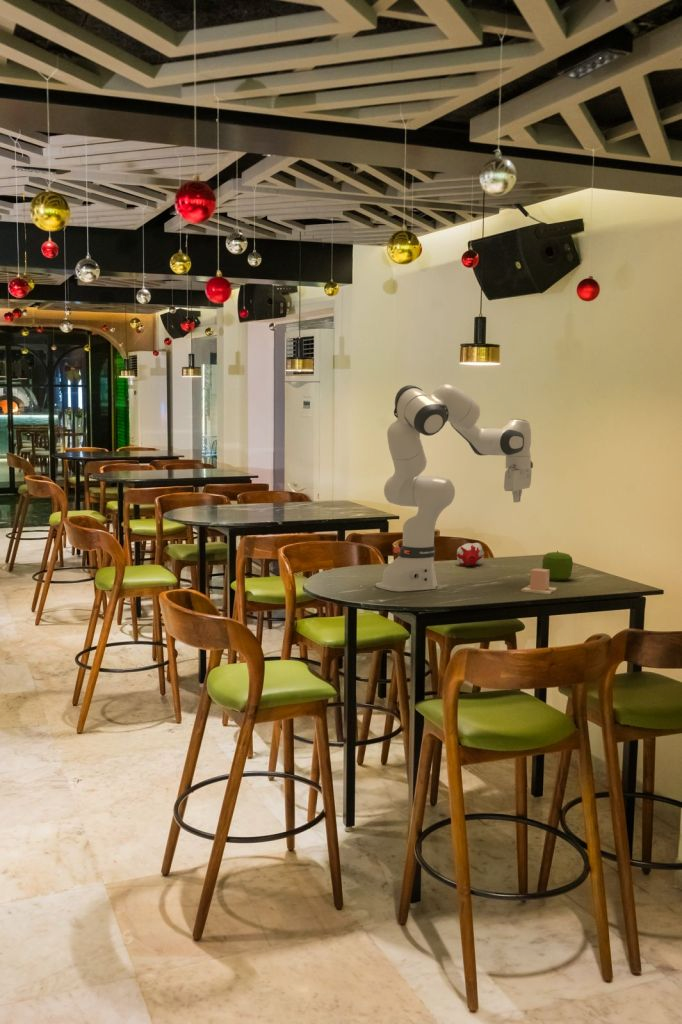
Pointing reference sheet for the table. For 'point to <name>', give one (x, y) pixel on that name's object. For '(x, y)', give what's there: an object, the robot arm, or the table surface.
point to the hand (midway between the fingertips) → (516, 502)
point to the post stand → (548, 591)
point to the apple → (558, 565)
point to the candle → (470, 554)
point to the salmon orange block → (539, 579)
